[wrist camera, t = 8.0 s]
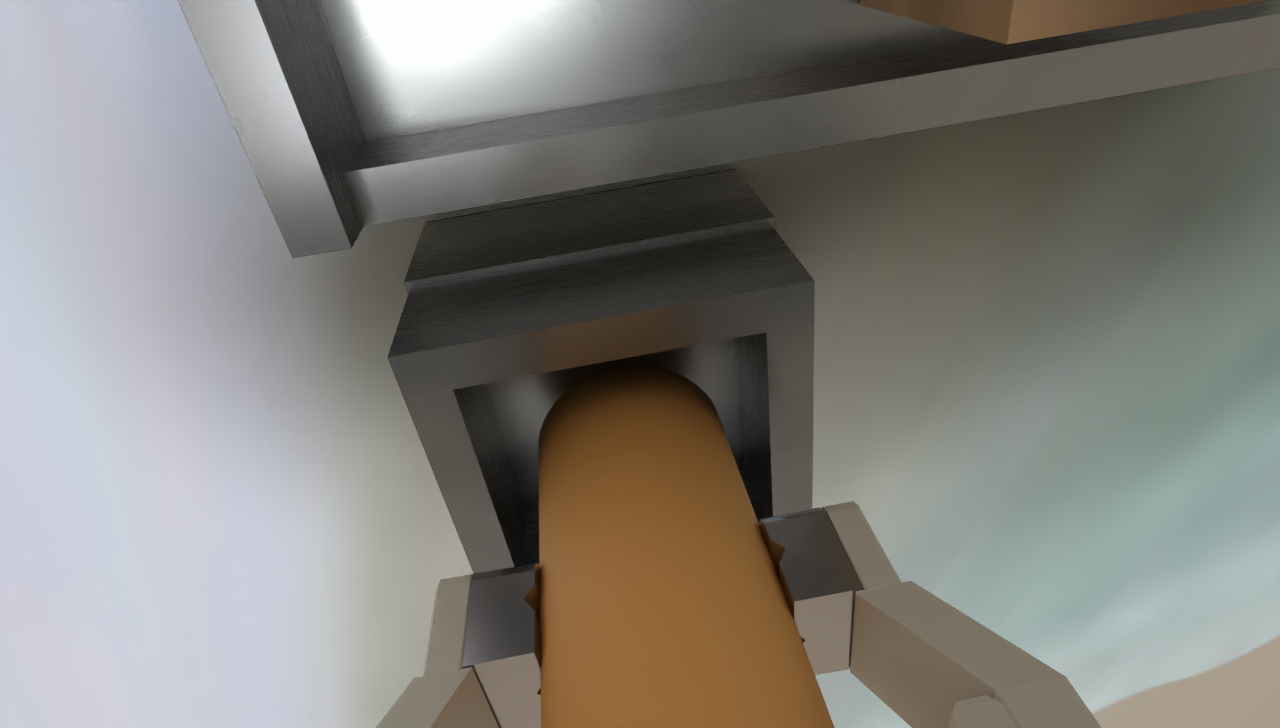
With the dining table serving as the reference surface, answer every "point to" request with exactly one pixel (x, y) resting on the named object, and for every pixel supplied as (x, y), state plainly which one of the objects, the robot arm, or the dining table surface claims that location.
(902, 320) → the dining table surface
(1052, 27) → the crate
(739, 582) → the round peg
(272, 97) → the bay
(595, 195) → the square tube sleeve
